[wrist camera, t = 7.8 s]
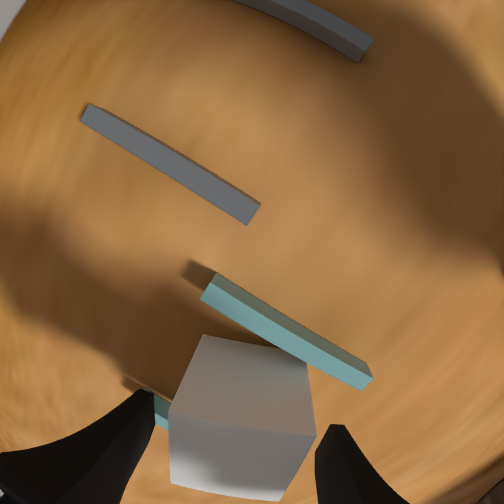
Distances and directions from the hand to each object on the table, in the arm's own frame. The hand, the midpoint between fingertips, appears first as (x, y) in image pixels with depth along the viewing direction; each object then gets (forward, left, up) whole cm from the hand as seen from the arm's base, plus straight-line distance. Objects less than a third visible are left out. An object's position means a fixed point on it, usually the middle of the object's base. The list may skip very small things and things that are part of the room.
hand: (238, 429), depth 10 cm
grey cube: (0, 0, -3) cm, 3 cm away
